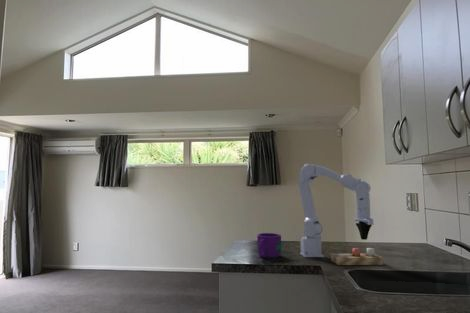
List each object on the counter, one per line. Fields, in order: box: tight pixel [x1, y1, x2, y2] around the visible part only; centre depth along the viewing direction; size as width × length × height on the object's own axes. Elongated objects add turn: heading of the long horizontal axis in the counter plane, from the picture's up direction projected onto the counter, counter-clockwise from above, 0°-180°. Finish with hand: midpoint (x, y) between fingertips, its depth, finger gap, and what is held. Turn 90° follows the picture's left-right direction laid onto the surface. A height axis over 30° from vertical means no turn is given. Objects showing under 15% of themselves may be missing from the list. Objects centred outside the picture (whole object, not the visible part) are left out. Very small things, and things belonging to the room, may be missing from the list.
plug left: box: [337, 253, 347, 257], centre depth 146 cm, size 3×3×3 cm
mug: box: [256, 232, 282, 259], centre depth 156 cm, size 17×11×10 cm, turn 152°
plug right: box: [366, 247, 375, 257], centre depth 147 cm, size 3×3×3 cm
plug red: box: [352, 247, 361, 257], centre depth 146 cm, size 3×3×3 cm
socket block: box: [330, 253, 384, 266], centre depth 146 cm, size 20×8×3 cm, turn 94°
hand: (364, 239), depth 147 cm, fingers closed
